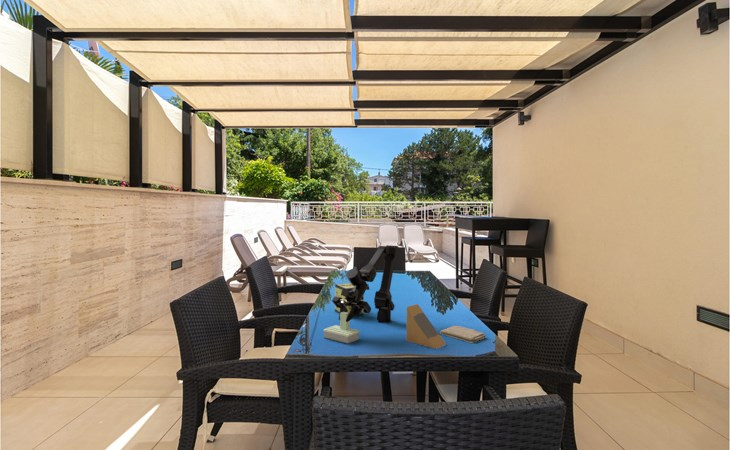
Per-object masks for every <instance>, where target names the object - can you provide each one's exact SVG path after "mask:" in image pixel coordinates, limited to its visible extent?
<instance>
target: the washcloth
mask: <svg viewBox="0 0 730 450" xmlns="http://www.w3.org/2000/svg"><path fill="white" fill-rule="evenodd" d="M441 334H442V336H445V335H446V336H445V337H448V336H449V338H452V337H453V339H455V338H456V340H459V339H460V341H463V340H464V342H466V341H467V343H470V344H473V343H478V342H480V341H483V340H484V338H485V339H486V338H487V337H486V336H487V335H486V334H485V333H484V332H481V331H478V330H476V329H473V328H468V327H465V326H459V325H452V326H449V327H448V328H444V329H442V330H440V331H439V335H441ZM482 339H483V340H482ZM479 340H480V341H479ZM477 341H478V342H477Z"/></svg>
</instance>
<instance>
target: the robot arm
mask: <svg viewBox="0 0 730 450" xmlns="http://www.w3.org/2000/svg"><path fill="white" fill-rule="evenodd" d="M376 249H377V250H376V251H375V253H374V254H373V256H372V257H371V259H370V261H369V262H368V263H367V264H366V265H364V266H363V267H362V268H360V270H359V268H358V267H357V266H354V267H352V268H350V269H349V270H348V271H347V272H346V273H345V277H346V278H347V280H348V281H349V283H351V284H352V285H353V286H354V287H353V289H352V290H351V289H346V288H343V289H342V292H341V295H343V296H345V299H346V300H347V301H345V300H343V299H342V298H341V297H335V296H333V297H332V299H331V302H332V303H333V304H334V307H335V306H336V307H337V308H340V313H341V312H348V310H347V306H350V307H351V310H350V312H349V314H348V316H347V319H346V322H348V321H350V322H351V320H353V319H354V318H355V316H356V317H358V316H357V315H358V314H361V313H362V312H361V311H362V309H363V314H368V315H369V314H370V313H371V312H372V307H371V306H370V304H369V303H368V301H361V300H363V299H364V300H365V297H364V298H363V295H364V296H365V293H366V291H369V290H370V285H369V283H373V282H374V280H375V279H376V276H377V270H378V268H379V267H380V265H381V263H382V262H383V260H384V266H383V272H382V277H381V282H380V288H379V290H376V291H375V292H374V298H373V299H374V301H373V303H374V307H375V309H376V310H377V311H376V317H377V319H376V320H377V323H389V324H390V323H391V322H392V317H391V315H392V311H394V310H395V306H396V305H395V304H394V302H393V301H392V300H393V299H392V294H391V285H392V279H393V275H394V267H395V263H396V262H397V261H398V260H399V257H400V254H401V249H400V247H399V246H398V245H392V244H390V245H389V244H387V245H379V246H378V247H377V248H376ZM338 315H339V316H338V320H339V321H340V314H339V313H338Z"/></svg>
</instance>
